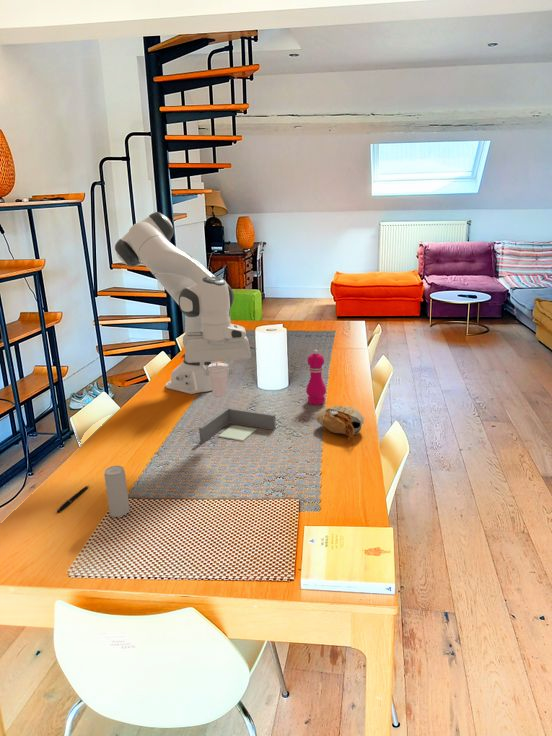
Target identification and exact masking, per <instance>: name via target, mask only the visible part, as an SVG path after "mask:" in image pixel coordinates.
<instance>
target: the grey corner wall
mask: <svg viewBox="0 0 552 736" xmlns="http://www.w3.org/2000/svg"><path fill="white" fill-rule="evenodd" d="M276 420H277V419H276V414H275V413H268V412H261V411H254V410H249V409H248V410H247V409H241V408H235V407H226V408H224V409H223V410H222V411H220V412H219V413H218V414H216V415H215V416H213V417H212V418H210V420H207V421H206V422H205V423H204V424H202V425H201V426H199V427H198V431H199V442H200V443H202V444H203V443H205V442H207V441H208V440H209V439H210V438H211V437H213V436H214V435H215V434H217V433H219V431H221V430H222V429H223V428H225V427H226V426H227V425H228V424H232V425H231V426H229V427H228V428H226V429H225V430H224V431H223V432H221V433H220V434H219V435H218V438H222V439H229V440H235V441H239V442H240V441H241V442H245V440H247V439H248V438H249V437H250V436H251V435H253V433H255V432H256V431H257V429H256V428H259V429H260V428H261V429H267V430H273V431H275V430H276V428H277V425H276ZM233 424H236V425H233ZM238 425H239V426H238ZM240 425H241V426H240ZM247 426H248V427H247ZM251 427H255V428H251Z"/></svg>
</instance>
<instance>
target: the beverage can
mask: <svg viewBox="0 0 552 736" xmlns="http://www.w3.org/2000/svg"><path fill="white" fill-rule="evenodd" d="M103 475H104V476H103V477H104V483H105V484H104V485H105V489H106V490H105V491H106V495H107V496H106V497H107V504H108V509H109V510H108V511H109V515H110V516H111V517H113V516H114V517H113V518H116V517H119V516H123V515H125V514H127V513H128V514H129V513H130V509H131V508H130V501H129V493H128V492H129V491H128V485H127V478H126V472H125V468H124V467H123V466H121V465H113V466H110V467H107V468H106V469H105V470H104V474H103ZM128 514H127V515H128ZM125 516H126V515H125ZM123 517H124V516H123ZM119 518H120V517H119Z"/></svg>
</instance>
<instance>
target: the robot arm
mask: <svg viewBox="0 0 552 736" xmlns="http://www.w3.org/2000/svg"><path fill="white" fill-rule="evenodd" d="M174 232H175V229H174V227H173V224H172V222H171V219H170V218H169V217H168V216H166V215H165V214H163V213H161V212H160V211H155V212H152V213H150V214H149V215H148V216H147V217H146V218H144V219H142V220H141V221H138V222H136V223H134V224H133V225H132V226H131V227H130V228H129V230H128V231H127V233H126V234H125V235H124V236H122V238H120V239H118V240H117V242H116V243H115V245H114V250H115V253H116V256H117V258H118V260H120V262H122V263H123V264H124V265H126V266H128V267H130V268H131V267H133V268H134V267H137V266H139V265H140V264H141V263H142V264H143V266H145V267H146V268H147V269H148V270H149V271H150V273H151V274H152V275H153V277H155V279H156V280H157V281H158V283H160V285H161V286H162V287H163V288H164V290H165V291H166V292H167V293H168V294H169V296H171V298H172V299H173V301H174V302H175V303H176V304H177V305H178V306H179V310H180V312H181V313H182V314H183V315H184V322H185V323H184V335H183V336H182V345H183V346H184V349H185V350H184V354H182V355H181V356H180V357H181V358H180V359H183V361H182V362H181V363H180V364H179V365H178V366H176V367H175V368H174V369H173V370H172V372H171V374H170V380H169V381H168V382H166V383H165V389H169V390H174V391H178V392H182V393H184V394H185V393H186V394H188V395H193V394H194V395H195V394H197V393H204V392H210V391H211V392H212V391H213V388H212V383H211V378H210V372H209V370H208V366H209V365H210V364H212V363H216V361H217V362H230V361H231V363H232V364H231V366H230V367H229V366H228V368H229V369H228V375H234V373H235V372H234V369H235V367H236V366H237V364H238V362H237V361H247V360H249V359H250V358H252V357H251V356H252V355H251V353H252V352H251V348H250V347H251V346H250V343H249V339H248V337H247V335H246V334H247V332H246V328H245V327H244V326H241V325H238V324H234V323H232V322H231V321H232V320H231V317H230V310H231V308H232V306H233V305H234V301H235V295H234V291H233V289H232V287H231V286H230V284H228V282H227V281H226V280H225V278H223V277H219V276H215V275H214V274H213V273H212V272H211V271H209V269H207V268H206V267H205V266H204V265H203V264H202V263H201V262H199V261H198V259H196V258H194V257H193V256H192V255H190V254H189V253H186V252H185V251H183V250H181V249H180V248H178V247H177V246H176V245H174V244H173V243H172V242H171V239H172V238H173V236H174Z"/></svg>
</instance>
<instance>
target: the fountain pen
mask: <svg viewBox="0 0 552 736" xmlns="http://www.w3.org/2000/svg"><path fill="white" fill-rule="evenodd" d="M90 485H91V484H88V485H85V486H84V487H82V489H80V490H78V492H76V493H75V494H74V495H72V496H71V497H70V498H69V499H65V500H64V501H63V502H62V503H61V504H60V505H59V506H58V507H57V508H56V509H57V510H56V513H61V512H63V510H65V509H66V508H67V507H70V505H71V504H72V503H73V502H74V501H75V500H77V499H78V497H80V496H81V495H82V494H83V493H85V492H86V491H87V490H88V488H89V487H90Z"/></svg>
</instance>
